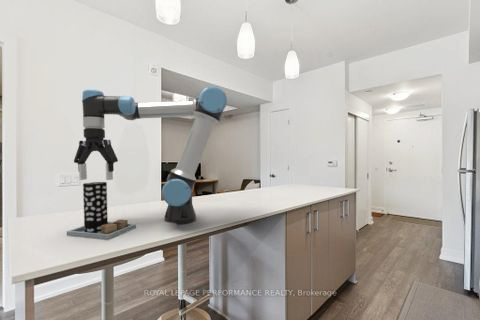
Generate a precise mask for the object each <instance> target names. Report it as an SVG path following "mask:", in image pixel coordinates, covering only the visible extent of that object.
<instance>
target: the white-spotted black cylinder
mask: <svg viewBox="0 0 480 320" xmlns="http://www.w3.org/2000/svg"><path fill="white" fill-rule="evenodd" d="M107 185H108V182H106V181H95V182H94V181H93V182H85V183H83V184H82V190H83V192H82V194H83V220H84V221H83V226H84V232H89V233H101V226H102V225H106V224H108V222H109V221H108V217H109V216H108V193H107V192H108V190H107V189H108V186H107Z"/></svg>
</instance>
